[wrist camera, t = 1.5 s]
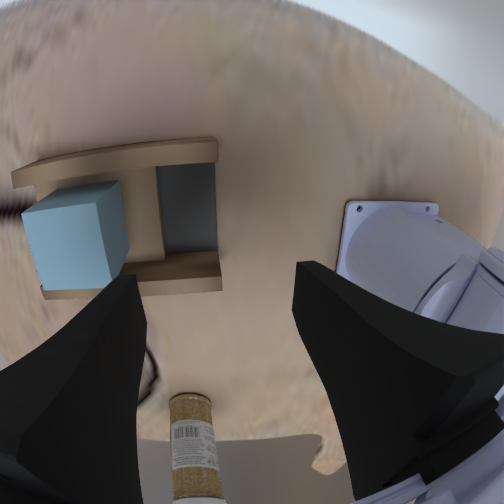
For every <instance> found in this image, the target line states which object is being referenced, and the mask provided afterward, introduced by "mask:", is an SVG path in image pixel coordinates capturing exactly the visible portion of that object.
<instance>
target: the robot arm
mask: <svg viewBox="0 0 504 504" xmlns="http://www.w3.org/2000/svg"><path fill="white" fill-rule="evenodd" d="M358 206H360V209H359V210H357V207H358ZM426 207H427V209H426ZM438 211H439V205H438V204H436V203H434V202H407V201H350V202H348V203H347V205H346V208H345V216H344V223H343V231H342V238H341V244H340V251H339V257H338V263H337V269H336V272H334V271H332V270H331V269H329V268H327V267H325V266H324V265H322V264H320V263H318V262H316V261H303V262H297V265H296V275H295V285H294V295H293V304H292V312H293V316H294V319H295V322H296V326H297V329H298V332H299V334H300V337H301V339H302V341H303V343H304V345H305V347H306V349H307V352H308V354H309V356H310V358H311V360H312V362H313V364H314V366H315V368H316V370H317V372H318V374H319V376H320V378H321V380H322V383H323V385H324V387H325V390H326V392H327V395H328V398H329V401H330V404H331V407H332V410H333V413H334V416H335V419H336V422H337V426H338V429H339V432H340V436H341V439H342V443H343V447H344V451H345V455H346V459H347V463H348V468H349V473H350V478H351V482H352V488H353V495H354V498H355V500H356V501H355V502H353V503H350V504H406V503H408V502H410V501H412V500H414V499H415V498H417V497H418V498H417V499H416V500H415V503H414V504H504V252H503V251H501V250H500V249H498V248H496V247H492V248H489V249H488V250H487V249H486V248H485V247H484V245H483V244H481V243H480V242H479V241H477V240H476V239H474V238H473V237H471V236H470V235H468V234H467V233H465V232H463V231H462V230H460V229H459V228H457V227H455V226H454V225H452V224H450V223H449V222H447V221H445V220H444V219H442V218H440V217H439V216H437V215H438ZM146 334H147V321H146V317H145V313H144V309H143V305H142V300H141V296H140V292H139V287H138V283H137V278H136V274H129V275H118V276H117V277H116V278H114V279H113V280H112V281H111V282H110V283H109V284H108V285H107V286H106V287H105V288H104V289H103V290H102V291H101V292H100V293H99V294H98V295H97V296H96V297H95V298H94V299H93V300H92V301H91V302H90V303H89V304H88V305H87V306H86V307H84V308H83V309H82V310H81V311H80V312H79V313H78V314H77V315H76V316H75V317H74V318H72V319H71V320H70V321H69V322H68V323H67V324H66V325H65V326H64V327H63V328H61V329H60V330H59V331H58V332H57V333H55V334H54V335H53V336H52V337H50V338H49V339H48V340H47V341H45V342H44V343H43V344H41V345H40V346H39V347H37V348H36V349H34V350H33V351H31V352H30V353H28V354H27V355H25V356H24V357H22V358H21V359H19V360H18V361H16V362H15V363H13V364H12V365H10V366H8V367H7V368H5V369H3V370H2V371H0V504H143V499H142V493H141V486H140V478H139V469H138V457H137V435H136V413H137V401H138V394H139V387H140V380H141V374H142V368H143V362H144V356H145V350H146Z"/></svg>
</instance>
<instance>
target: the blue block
mask: <svg viewBox="0 0 504 504" xmlns="http://www.w3.org/2000/svg"><path fill="white" fill-rule="evenodd" d="M21 215H22V219H23V223H24V227H25V231H26V235H27V239H28V242H29V246H30V249H31V253H32V256H33V259H34V263H35V266H36V269H37V272H38V275H39V278H40V280H41V283H42V286H43V289H44V290H68V289H92V288H105V287H106V286H107V285H108V284H109V283H110V282H111V281H112V280H113V279H114V278H116V277H117V276H118V275H119V273H120V271H121V268H122V266H123V263H124V261H125V258H126V256H127V254H128V251H129V249H130V247H129V242H128V236H127V230H126V224H125V217H124V211H123V203H122V196H121V188H120V180H116V181H108V182H100V183H93V184H86V185H79V186H73V187H67V188H61V189H56V190H54V191H53V192H51V193H50V194H48V195H47V196H45V197H44V198H43V199H41V200H40V201H38V202H37V203H35V204H34V205H33V206H31V207H30V208H28V209H27V210H26V211H24V212H23V213H22V214H21Z"/></svg>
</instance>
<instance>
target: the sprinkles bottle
mask: <svg viewBox="0 0 504 504" xmlns="http://www.w3.org/2000/svg"><path fill="white" fill-rule="evenodd" d="M169 409H170V455H171V465H172V476H173V477H172V478H173V489H174V497H173V500H174V501H173V502H172V503H173V504H226V501H225V500H224V497H223V495H222V489H221V482H220V476H219V473H220V472H219V465H218V459H217V452H216V444H215V436H214V429H213V425H212V416H211V403H210V401H209V400H208V399H207V398H205V397H203V396H201V395H197V394H183V395H179V396H176V397H174V398H173V399H172V400H171V401H170V402H169Z"/></svg>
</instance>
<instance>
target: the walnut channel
mask: <svg viewBox="0 0 504 504" xmlns="http://www.w3.org/2000/svg"><path fill="white" fill-rule="evenodd" d="M215 162H218V142H217V140H216V139H215V138H214V137H203V138H186V139H173V140H161V141H151V142H142V143H133V144H126V145H118V146H111V147H105V148H98V149H92V150H86V151H81V152H75V153H70V154H65V155H60V156H56V157H51V158H47V159H42V160H38V161H36V162H33V163H31V164H28V165H26V166H24V167H21V168H19V169H17V170H15V171H12V172H11V177H12V183H13V189H16V188H20V187H24V186H29V185H34V187H35V193H36V199H37V202H38V201H40V200H41V199H43V198H44V197H45V196H47V195H48V194H50V193H51V192H53V191H54V190H56V189H61V188H67V187H73V186H79V185H86V184H93V183H100V182H108V181H116V180H120V188H121V196H122V203H123V211H124V217H125V224H126V230H127V236H128V242H129V247H130V249H129V251H128V254H127V256H126V258H125V261H124V263H123V266H122V268H121V271H120V273H119V275H129V274H136V278H137V283H138V287H139V292H140V296H154V295H170V294H185V293H200V292H213V291H223V290H222V274H221V268H220V262H219V256H218V247H217V223H216V194H215ZM40 288H41V291H42V293H43V296H44V299H45V300H56V299H91V298H95V297H96V296H97V295H98V294H99V293H100V292H101V291H102V290H103V289H104V288H92V289H68V290H44V289H43V286H42V285H41V286H40Z"/></svg>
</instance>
